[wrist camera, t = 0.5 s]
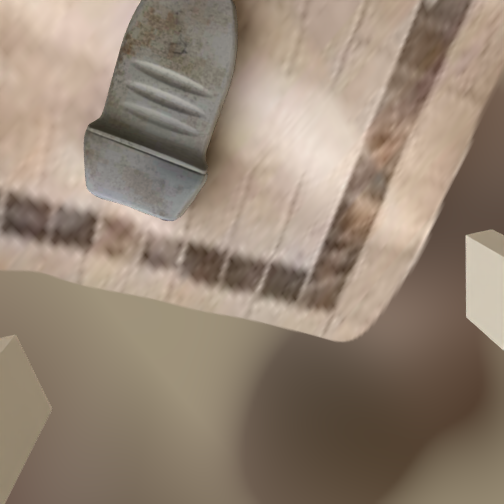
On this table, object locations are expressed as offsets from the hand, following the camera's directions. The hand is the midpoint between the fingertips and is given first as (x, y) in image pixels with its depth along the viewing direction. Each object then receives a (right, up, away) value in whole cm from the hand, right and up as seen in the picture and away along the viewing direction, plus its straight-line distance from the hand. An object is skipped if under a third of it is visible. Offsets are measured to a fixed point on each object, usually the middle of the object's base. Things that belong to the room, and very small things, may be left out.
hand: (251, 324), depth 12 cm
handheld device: (-7, +16, +22) cm, 28 cm away
